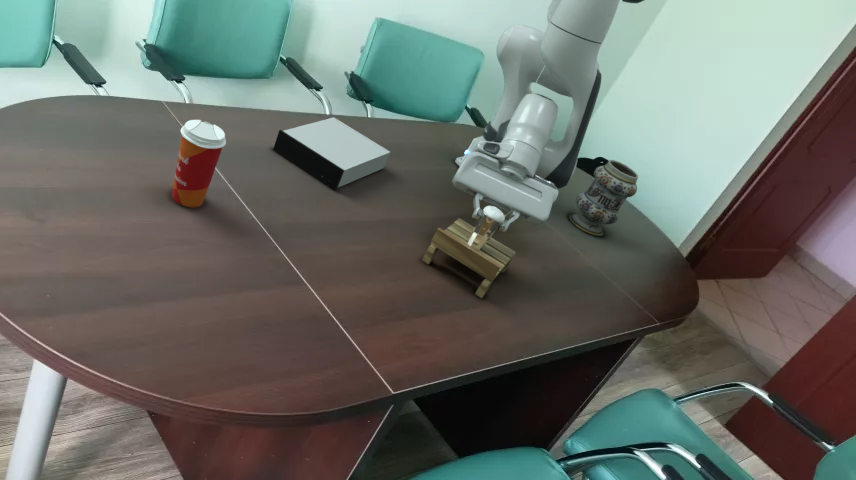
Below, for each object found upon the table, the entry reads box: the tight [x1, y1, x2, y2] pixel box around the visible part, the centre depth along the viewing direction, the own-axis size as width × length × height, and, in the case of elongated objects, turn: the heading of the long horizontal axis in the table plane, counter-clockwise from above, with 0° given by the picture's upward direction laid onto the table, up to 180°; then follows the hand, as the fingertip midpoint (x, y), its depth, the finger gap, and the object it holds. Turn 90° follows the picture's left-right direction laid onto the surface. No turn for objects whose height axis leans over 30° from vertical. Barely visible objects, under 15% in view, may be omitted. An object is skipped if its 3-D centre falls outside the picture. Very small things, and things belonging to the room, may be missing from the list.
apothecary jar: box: [569, 159, 639, 237], centre depth 176 cm, size 12×12×18 cm
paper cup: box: [171, 119, 227, 208], centre depth 117 cm, size 8×8×14 cm
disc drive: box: [272, 116, 391, 191], centre depth 154 cm, size 18×22×5 cm
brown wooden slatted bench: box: [421, 217, 516, 299], centre depth 137 cm, size 17×14×8 cm
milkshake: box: [468, 205, 513, 251], centre depth 133 cm, size 4×5×10 cm
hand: (488, 224), depth 132 cm, fingers closed on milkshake, 4 cm apart
